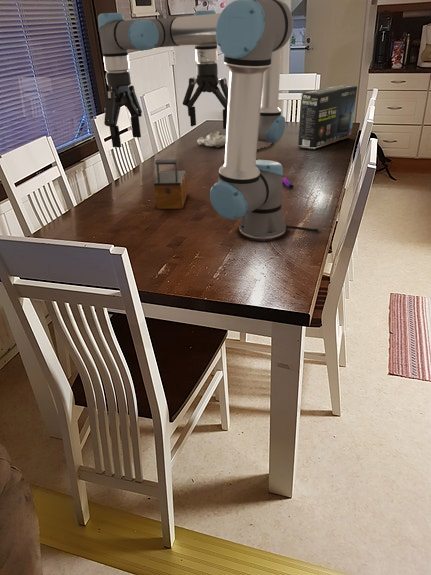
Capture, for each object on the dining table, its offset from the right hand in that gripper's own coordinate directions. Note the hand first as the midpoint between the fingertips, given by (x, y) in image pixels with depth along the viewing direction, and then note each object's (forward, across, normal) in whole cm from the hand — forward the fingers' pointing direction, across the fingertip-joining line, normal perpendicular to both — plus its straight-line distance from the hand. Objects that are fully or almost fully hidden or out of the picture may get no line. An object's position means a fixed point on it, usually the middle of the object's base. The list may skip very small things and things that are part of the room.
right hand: (127, 142), depth 152 cm
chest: (+26, -17, +6) cm, 32 cm away
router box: (+26, -118, +50) cm, 131 cm away
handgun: (+26, -50, +40) cm, 69 cm away
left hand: (0, -28, +19) cm, 33 cm away
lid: (+17, -16, +6) cm, 25 cm away
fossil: (+26, -104, -8) cm, 107 cm away
